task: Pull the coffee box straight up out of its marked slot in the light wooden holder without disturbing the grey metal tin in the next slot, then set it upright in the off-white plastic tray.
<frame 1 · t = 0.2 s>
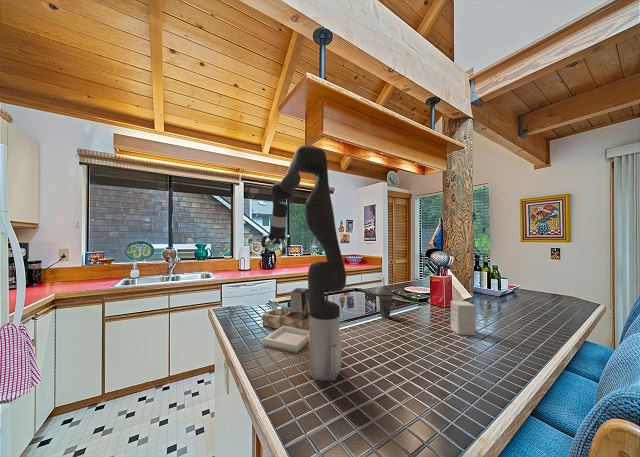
hand: (274, 254, 123), 31 cm above the kitchen island, tool tilted 20°, fingers open, 8 cm apart
wooden holder: (290, 324, 111), on the kitchen island
coffee box: (299, 326, 110), resting in wooden holder
beverage cup: (385, 317, 124), on the kitchen island
supplement box: (462, 332, 106), on the kitchen island
plastic tray: (289, 341, 93), on the kitchen island
metal tin: (280, 322, 114), resting in wooden holder
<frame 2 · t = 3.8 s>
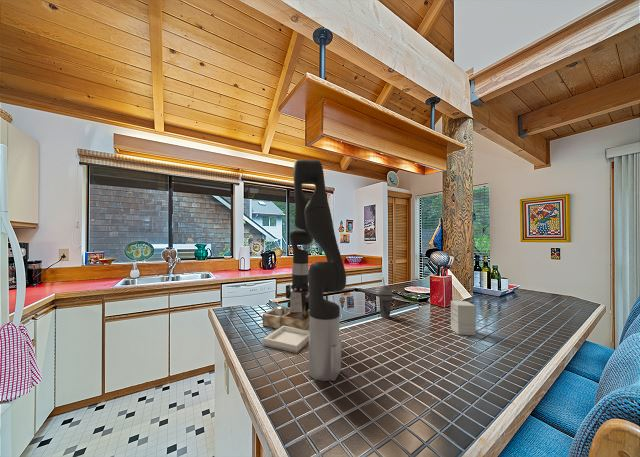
hand: (299, 309, 110), 7 cm above the kitchen island, tool pointing down, fingers closed on coffee box, 7 cm apart
coffee box: (299, 326, 110), resting in wooden holder, touching gripper
everything else where it was.
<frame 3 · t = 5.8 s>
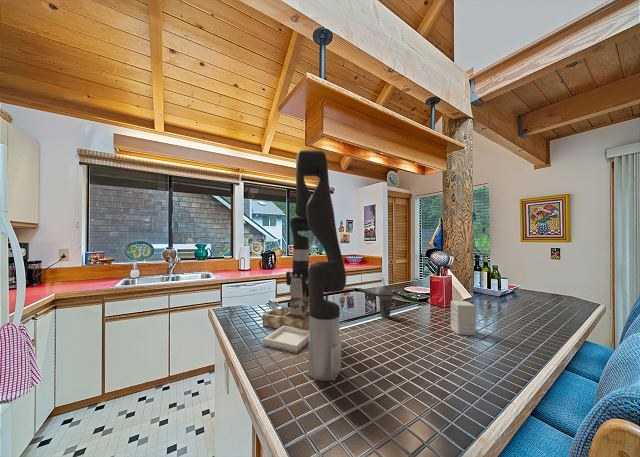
hand: (300, 295, 110), 14 cm above the kitchen island, tool pointing down, fingers closed on coffee box, 7 cm apart
coffee box: (299, 312, 110), point 6 cm above the kitchen island, touching gripper
everything else where it was.
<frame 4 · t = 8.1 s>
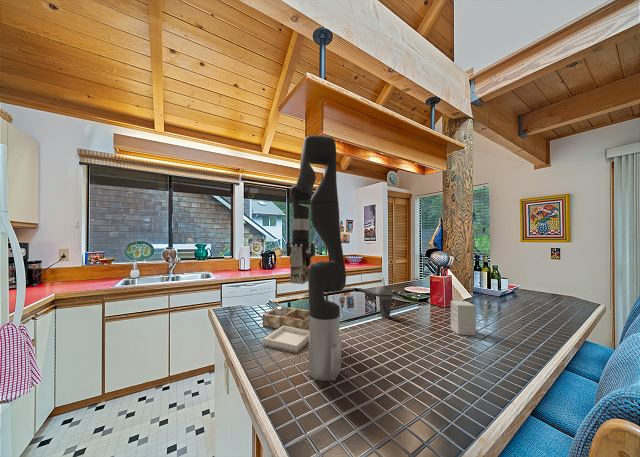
hand: (300, 265, 109), 27 cm above the kitchen island, tool pointing down, fingers closed on coffee box, 7 cm apart
coffee box: (299, 282, 109), point 20 cm above the kitchen island, touching gripper
everything else where it was.
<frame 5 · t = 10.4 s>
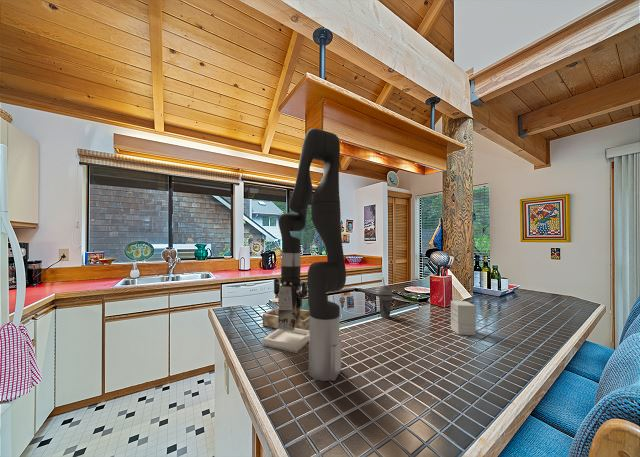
hand: (289, 306, 94), 13 cm above the kitchen island, tool pointing down, fingers closed on coffee box, 7 cm apart
coffee box: (289, 326, 94), point 6 cm above the kitchen island, touching gripper
everything else where it was.
when the fingers open (10 cm above the kitchen island, at t = 12.2 s): coffee box drops 1 cm, resting on plastic tray.
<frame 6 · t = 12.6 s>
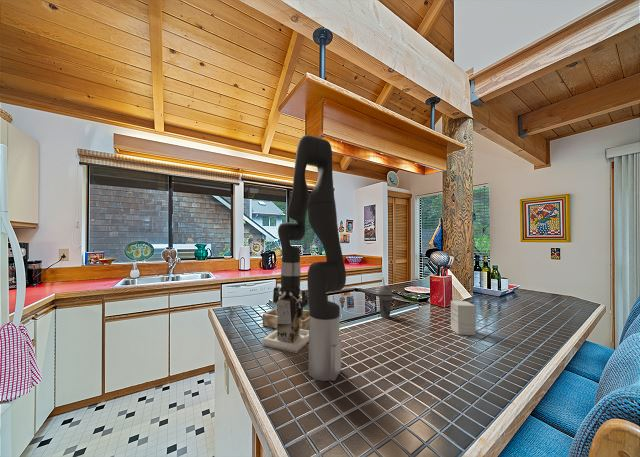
hand: (289, 315, 94), 10 cm above the kitchen island, tool pointing down, fingers open, 8 cm apart
coffee box: (288, 339, 94), point 1 cm above the kitchen island, touching plastic tray
everything else where it was.
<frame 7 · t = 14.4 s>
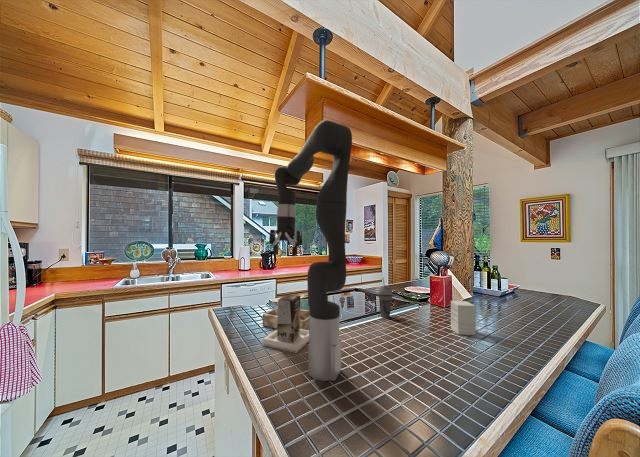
hand: (284, 255, 99), 33 cm above the kitchen island, tool pointing down, fingers open, 8 cm apart
nothing on the kitchen island moved.
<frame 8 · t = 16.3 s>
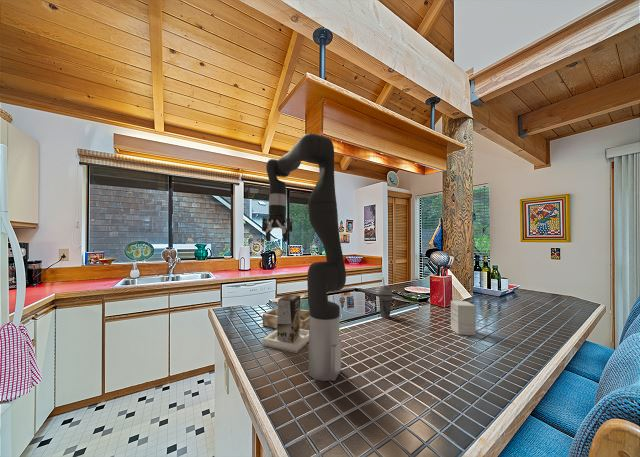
hand: (276, 241, 107), 38 cm above the kitchen island, tool pointing down, fingers open, 8 cm apart
nothing on the kitchen island moved.
at the end: coffee box inside the target area on the plastic tray (0.2 cm from its centre), point 0.6 cm above the plastic tray's base; coffee box tilted 0°; metal tin moved 0.0 cm from its start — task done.
